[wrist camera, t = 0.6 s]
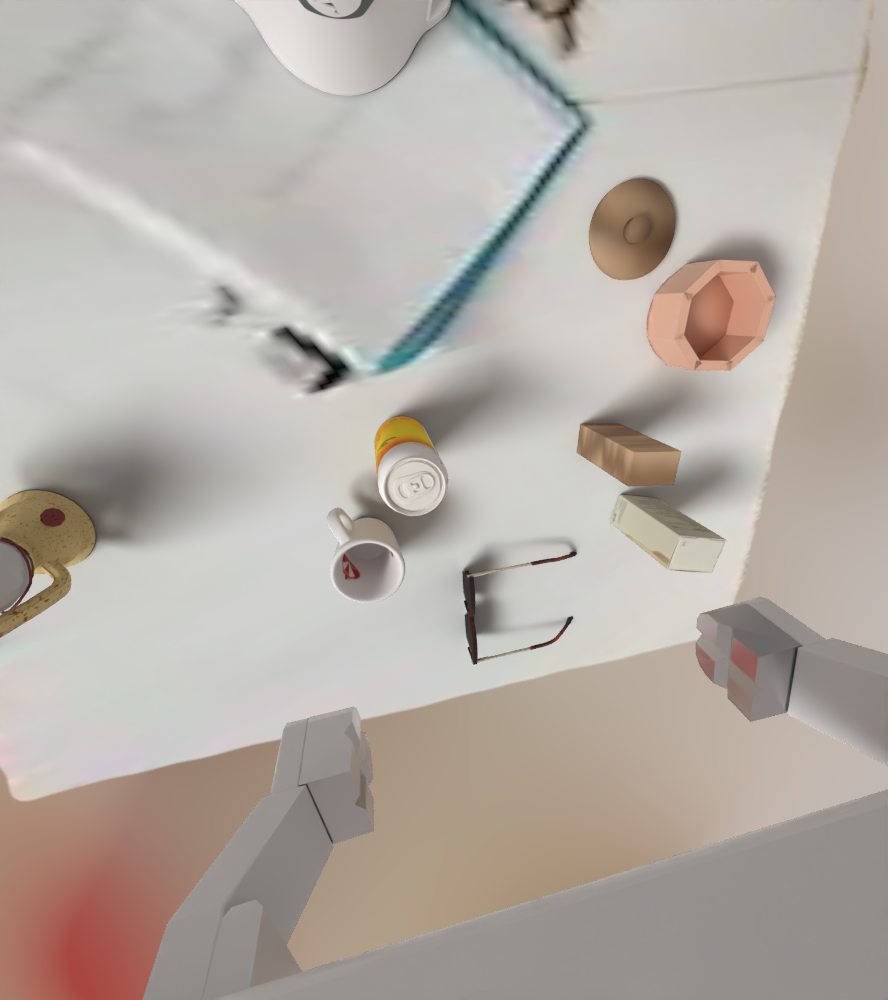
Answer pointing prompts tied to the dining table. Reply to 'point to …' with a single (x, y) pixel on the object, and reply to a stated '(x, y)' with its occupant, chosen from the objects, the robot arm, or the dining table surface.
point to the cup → (364, 558)
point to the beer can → (409, 467)
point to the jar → (710, 314)
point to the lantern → (38, 551)
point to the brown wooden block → (628, 454)
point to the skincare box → (667, 534)
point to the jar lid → (632, 229)
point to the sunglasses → (470, 607)
